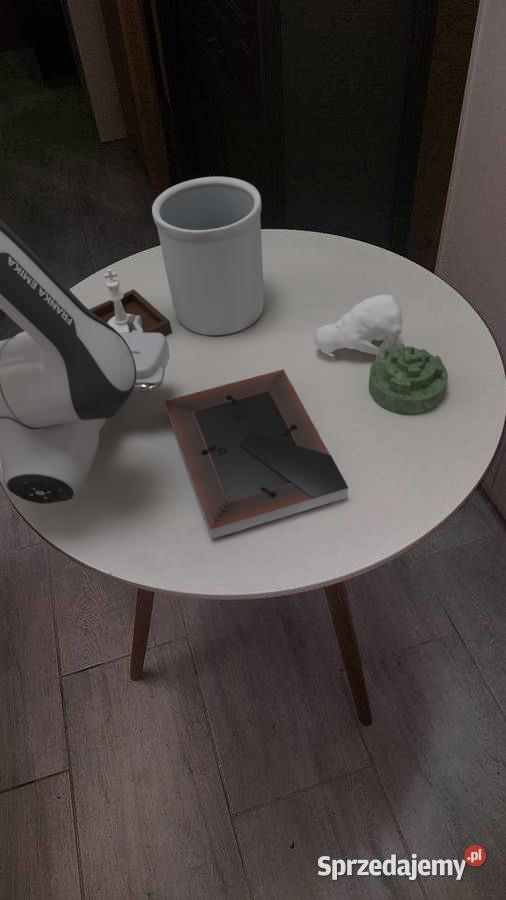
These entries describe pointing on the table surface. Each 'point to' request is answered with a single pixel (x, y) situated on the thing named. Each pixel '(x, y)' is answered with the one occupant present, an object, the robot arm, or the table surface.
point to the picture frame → (253, 453)
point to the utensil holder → (212, 253)
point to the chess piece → (117, 304)
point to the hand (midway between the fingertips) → (101, 319)
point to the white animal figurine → (363, 327)
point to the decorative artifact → (407, 380)
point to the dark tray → (136, 313)
